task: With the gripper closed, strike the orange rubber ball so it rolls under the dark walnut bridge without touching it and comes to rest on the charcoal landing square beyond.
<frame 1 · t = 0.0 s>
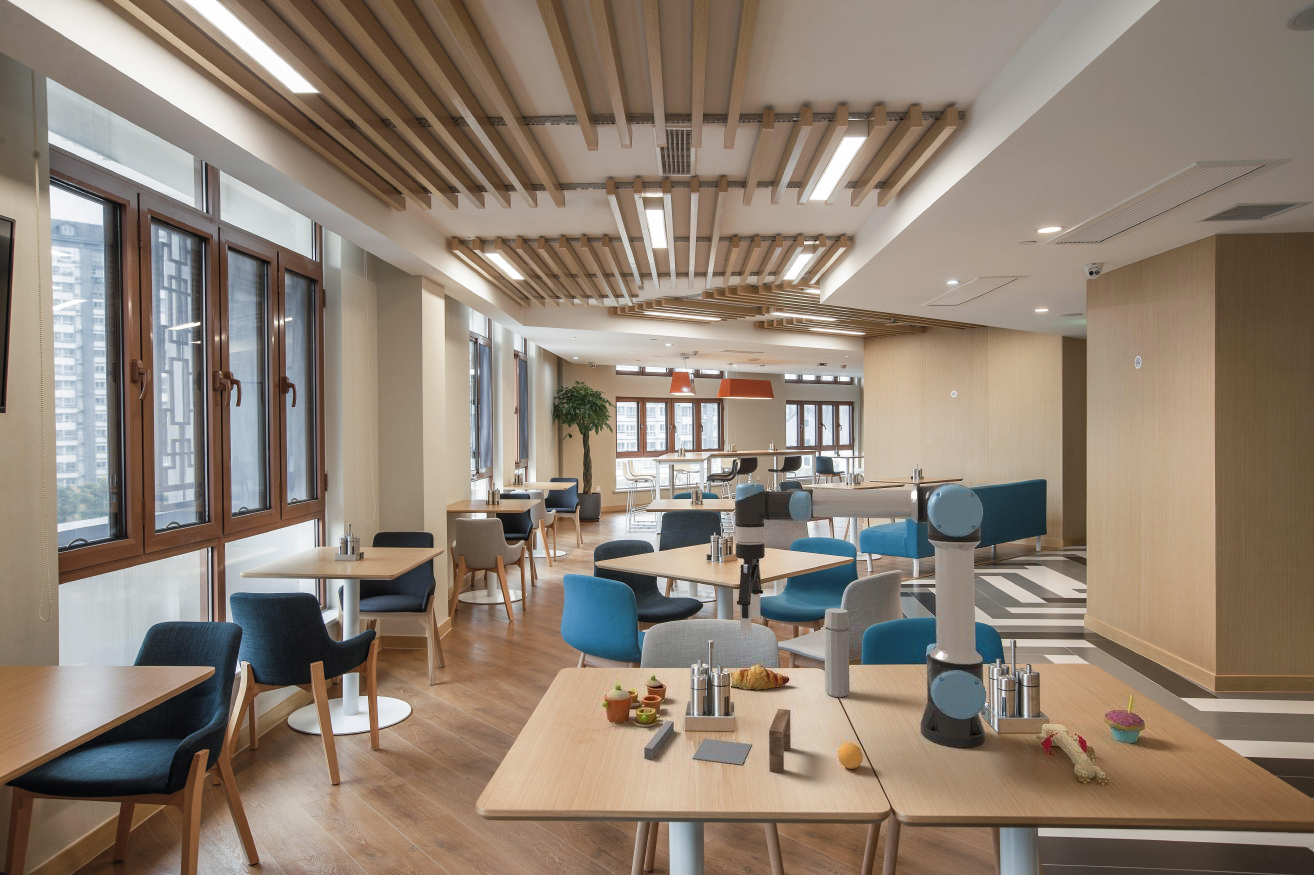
hand: (750, 624, 183), 28 cm above the table, tool pointing down, fingers open, 13 cm apart
cupcake: (1124, 740, 177), on the table
toy tea set: (638, 712, 199), on the table
bone: (1069, 761, 166), on the table
stopper: (659, 744, 176), on the table
bridge: (780, 759, 167), on the table
croissant: (754, 686, 220), on the table
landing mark: (722, 751, 171), on the table
water bottle: (837, 693, 213), on the table
ball: (850, 755, 162), on the table
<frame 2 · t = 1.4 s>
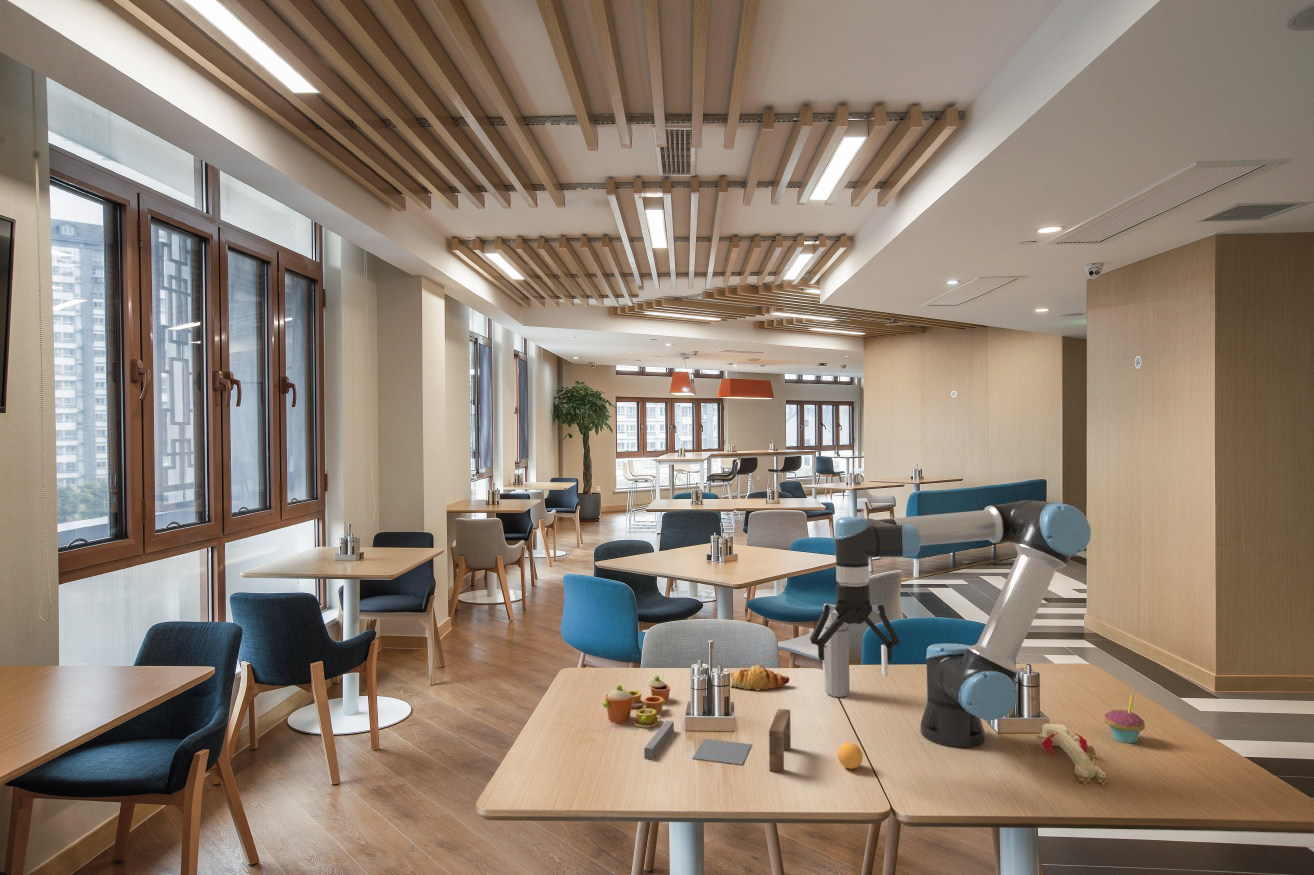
hand: (855, 674, 165), 20 cm above the table, tool pointing down, fingers open, 13 cm apart
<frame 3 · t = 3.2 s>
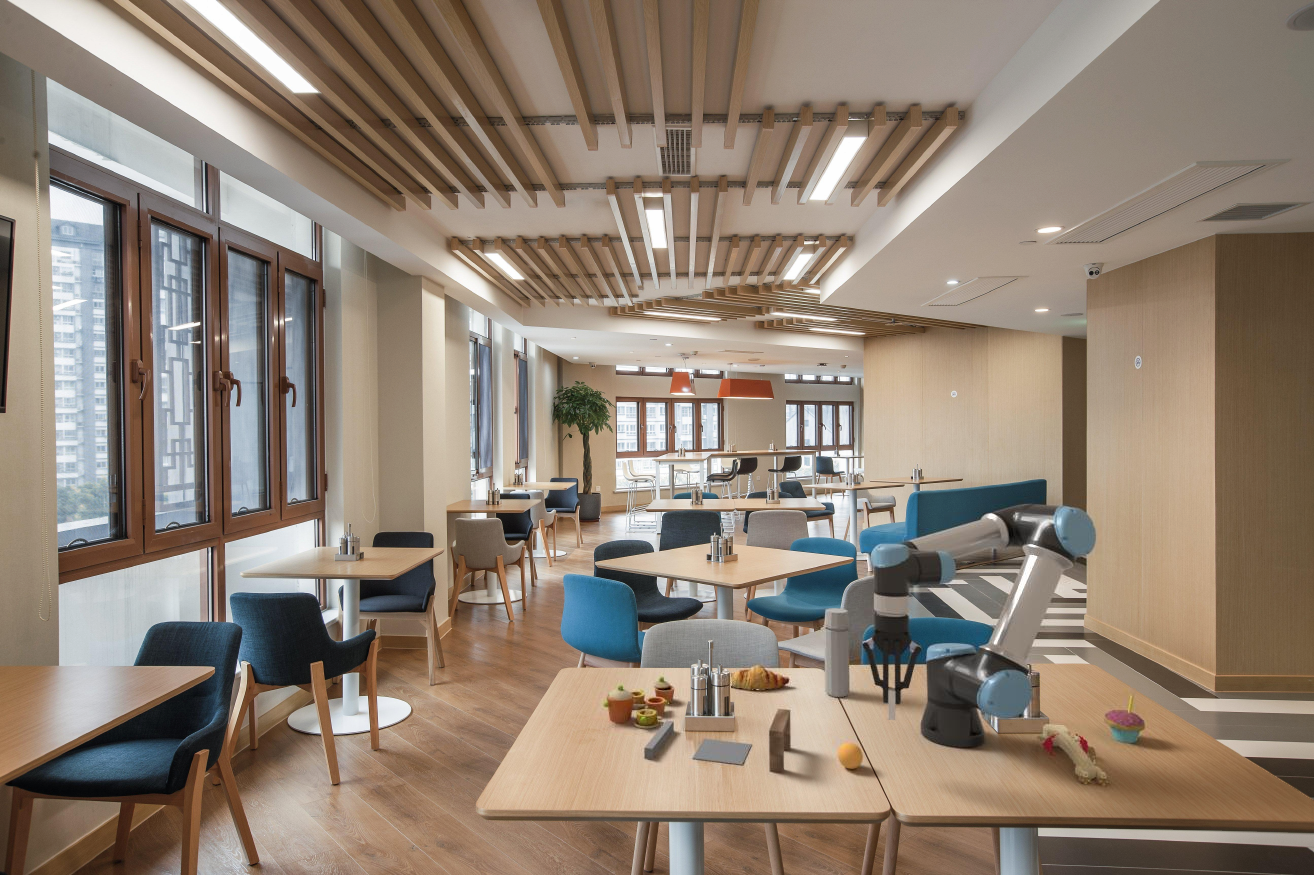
hand: (891, 717, 159), 12 cm above the table, tool pointing down, fingers closed
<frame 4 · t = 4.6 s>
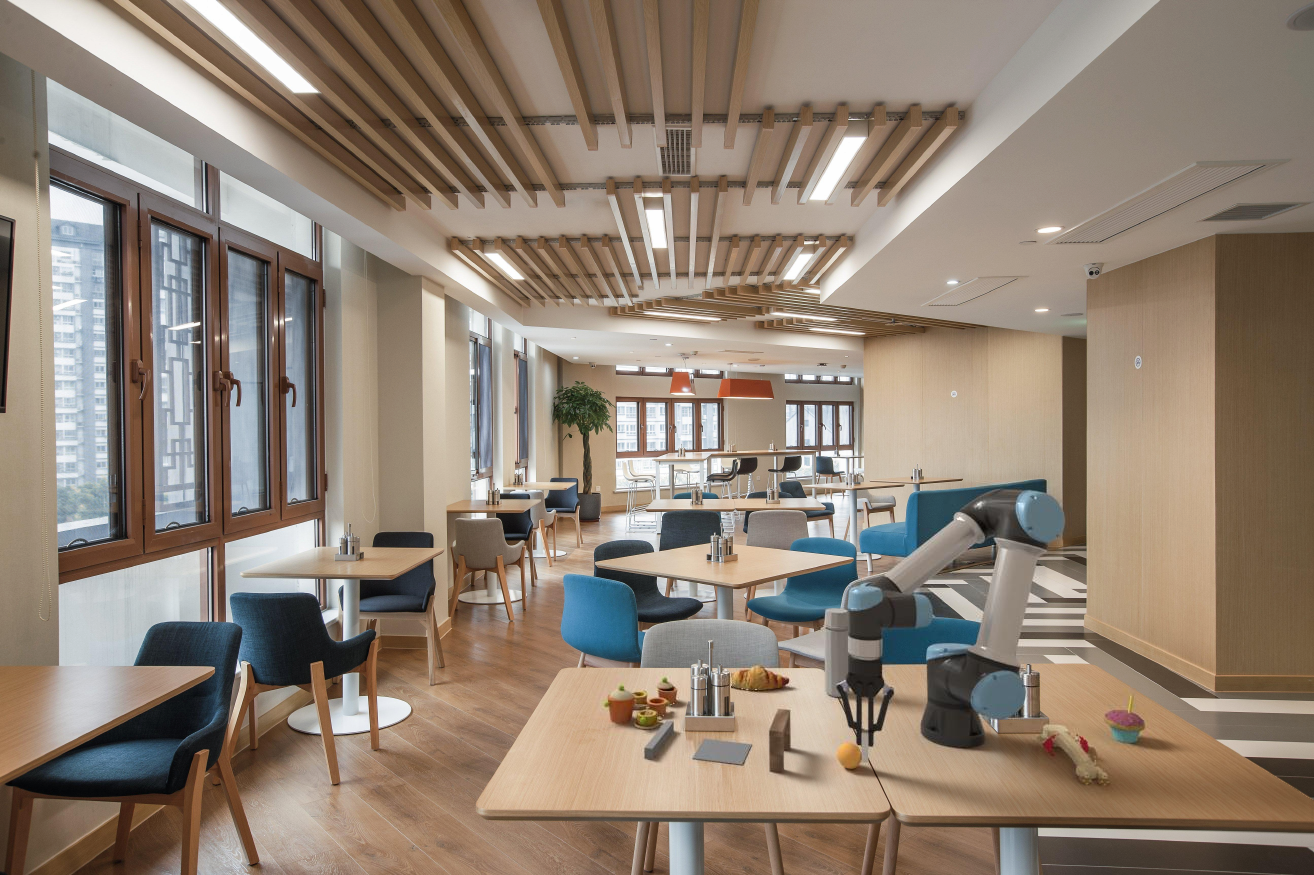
hand: (864, 759, 161), 2 cm above the table, tool pointing down, fingers closed
ball: (849, 755, 162), on the table, touching gripper
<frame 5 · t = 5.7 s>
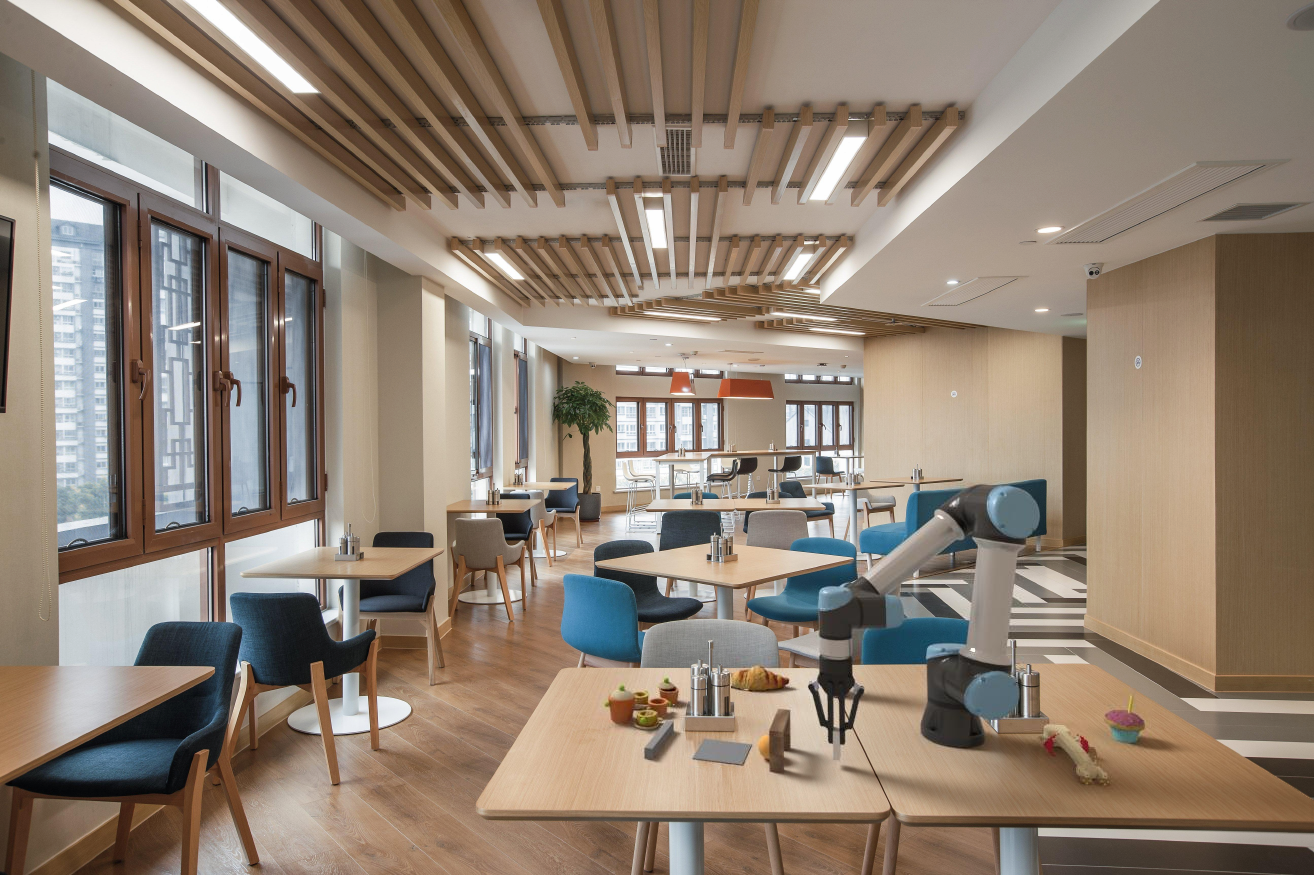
hand: (836, 757, 163), 2 cm above the table, tool pointing down, fingers closed
ball: (769, 746, 167), on the table
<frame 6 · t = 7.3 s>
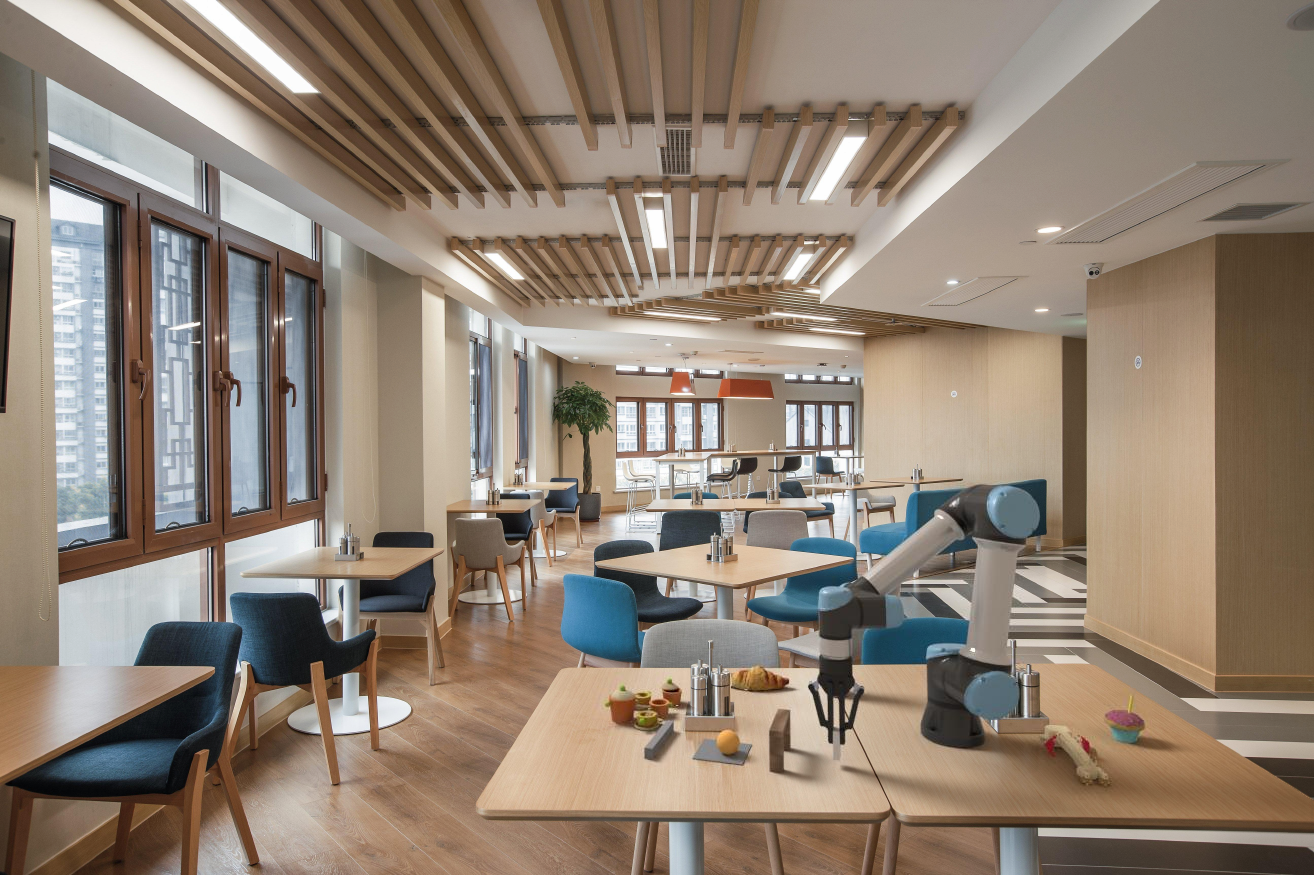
hand: (836, 757, 163), 2 cm above the table, tool pointing down, fingers closed
ball: (728, 742, 170), on the table
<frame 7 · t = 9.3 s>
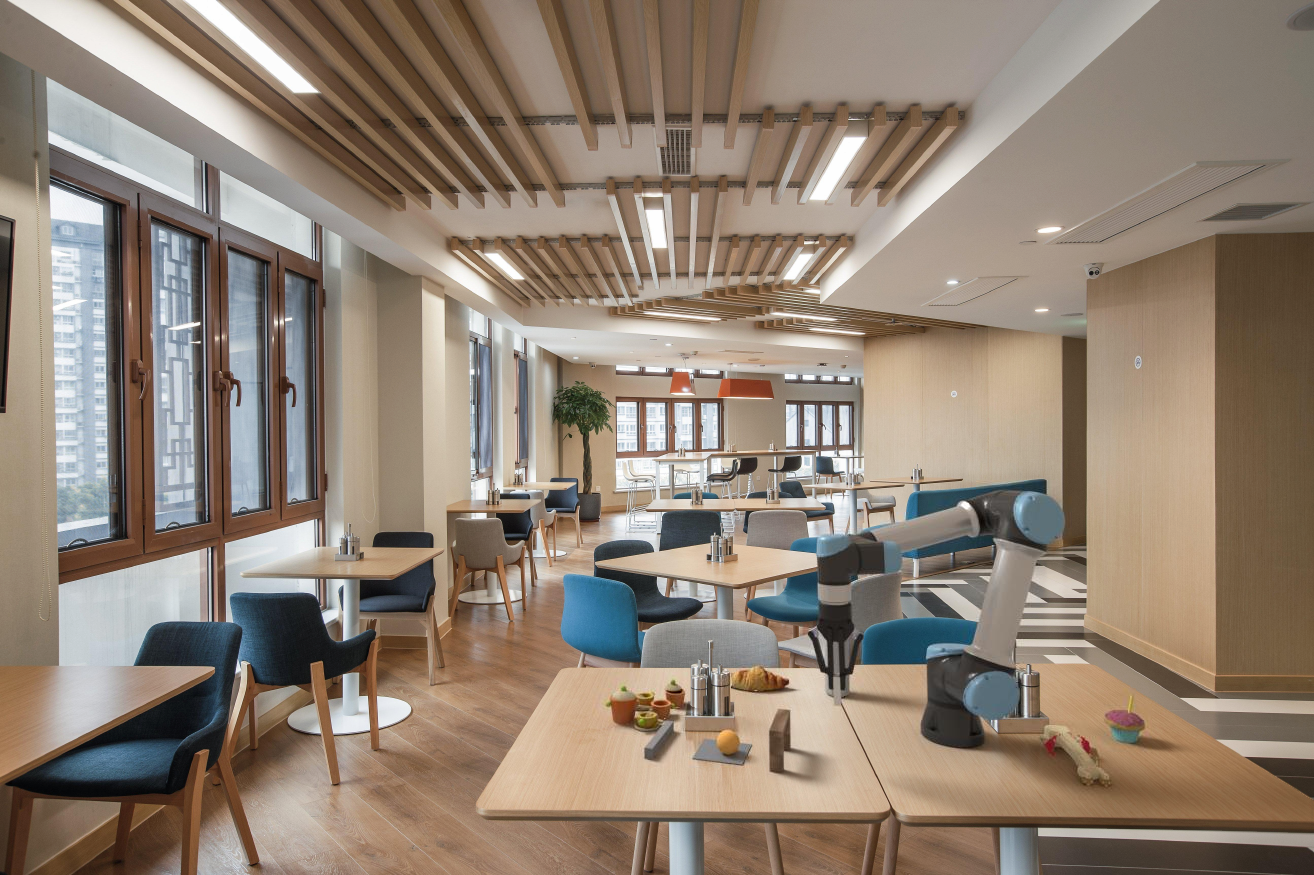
hand: (837, 703, 163), 14 cm above the table, tool pointing down, fingers closed
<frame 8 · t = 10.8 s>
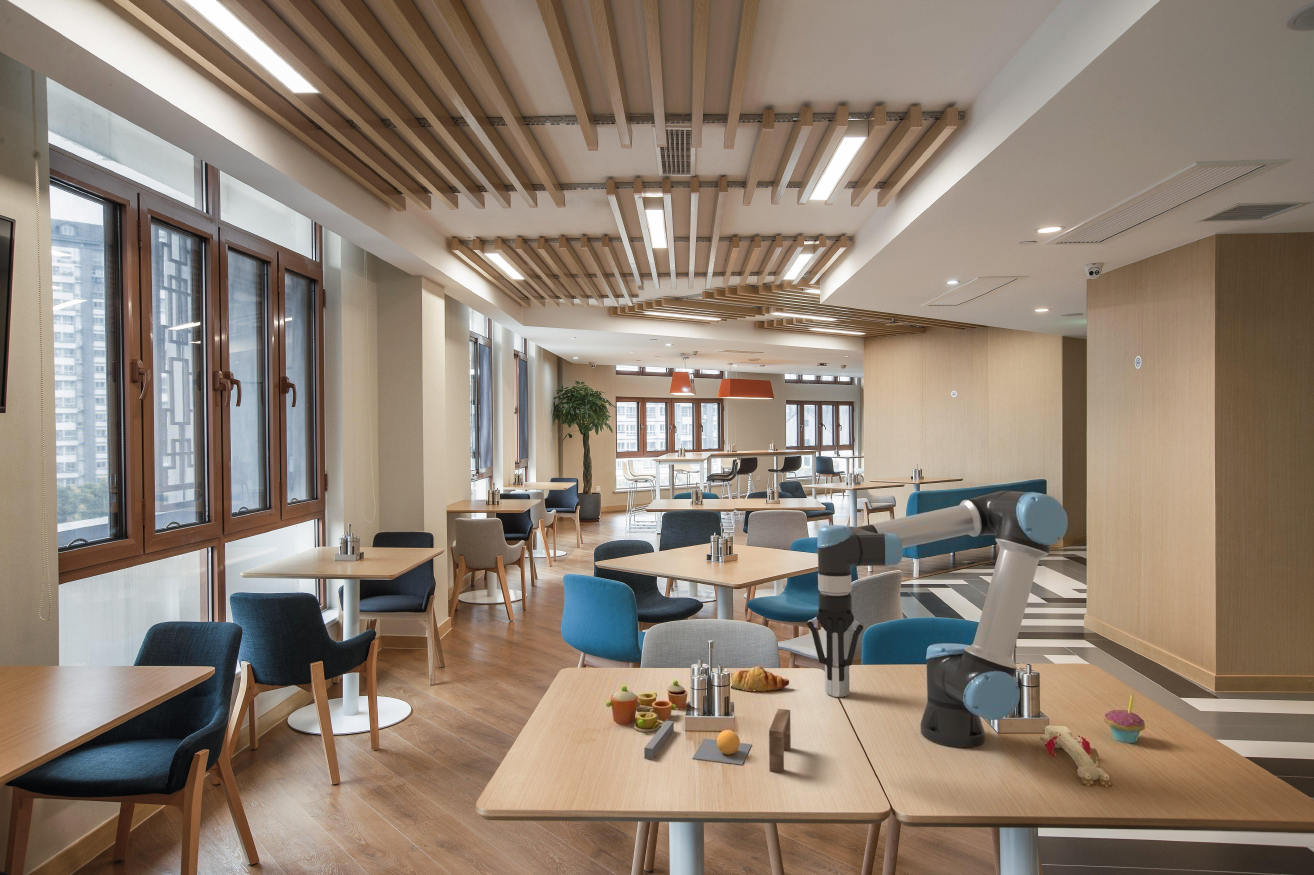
hand: (836, 694, 163), 16 cm above the table, tool pointing down, fingers closed
at the end: ball 1.7 cm from the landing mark (horizontally); ball never touched bridge; ball at rest at the end (0.0 cm/s) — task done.
